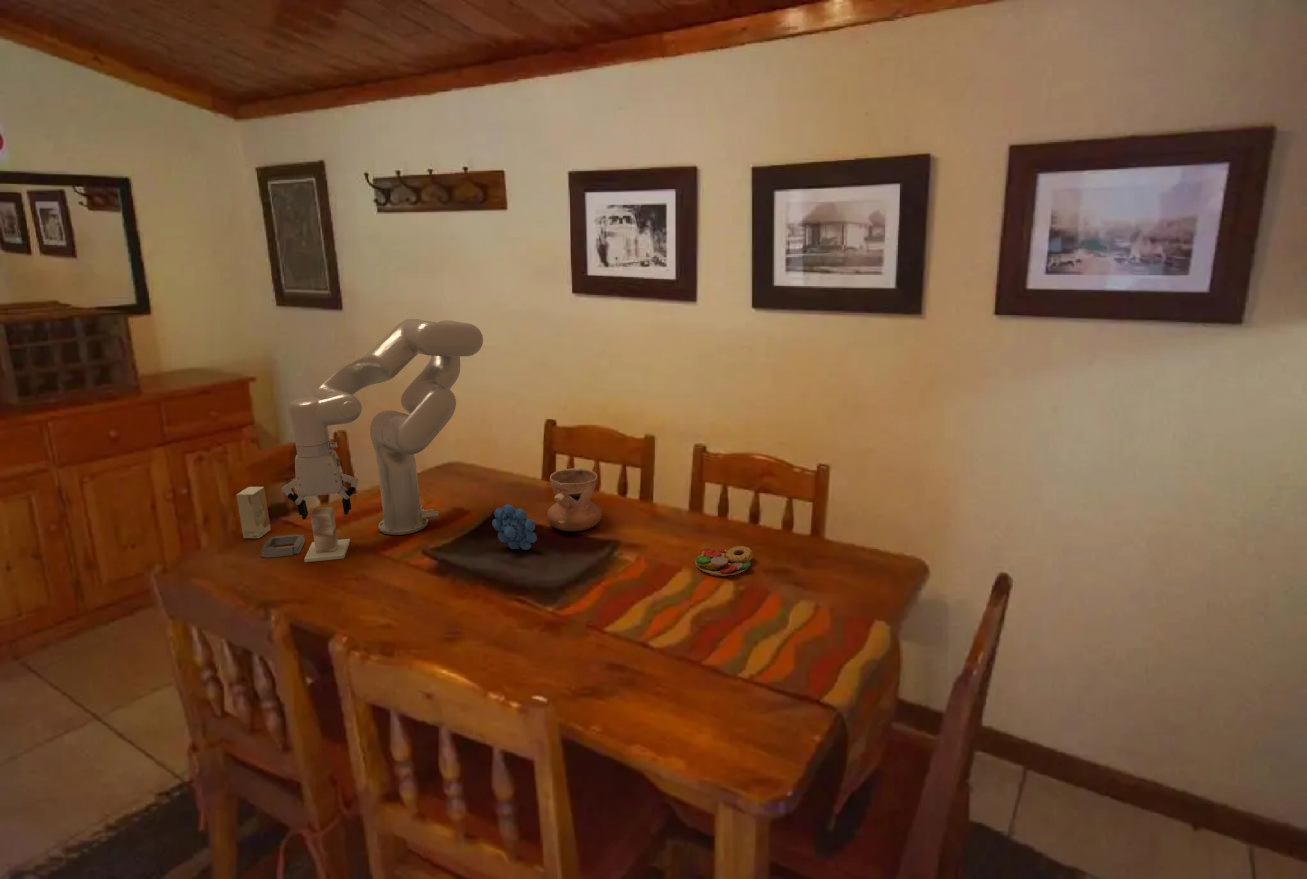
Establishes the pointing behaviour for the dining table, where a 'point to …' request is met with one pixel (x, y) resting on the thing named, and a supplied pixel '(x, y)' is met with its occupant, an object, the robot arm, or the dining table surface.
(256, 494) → the skincare box
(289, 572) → the dining table surface
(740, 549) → the toy food set
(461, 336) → the robot arm
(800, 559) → the dining table surface
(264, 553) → the frame
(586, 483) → the ceramic jug
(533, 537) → the blue flower
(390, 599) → the dining table surface
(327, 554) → the coaster
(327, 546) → the square peg
